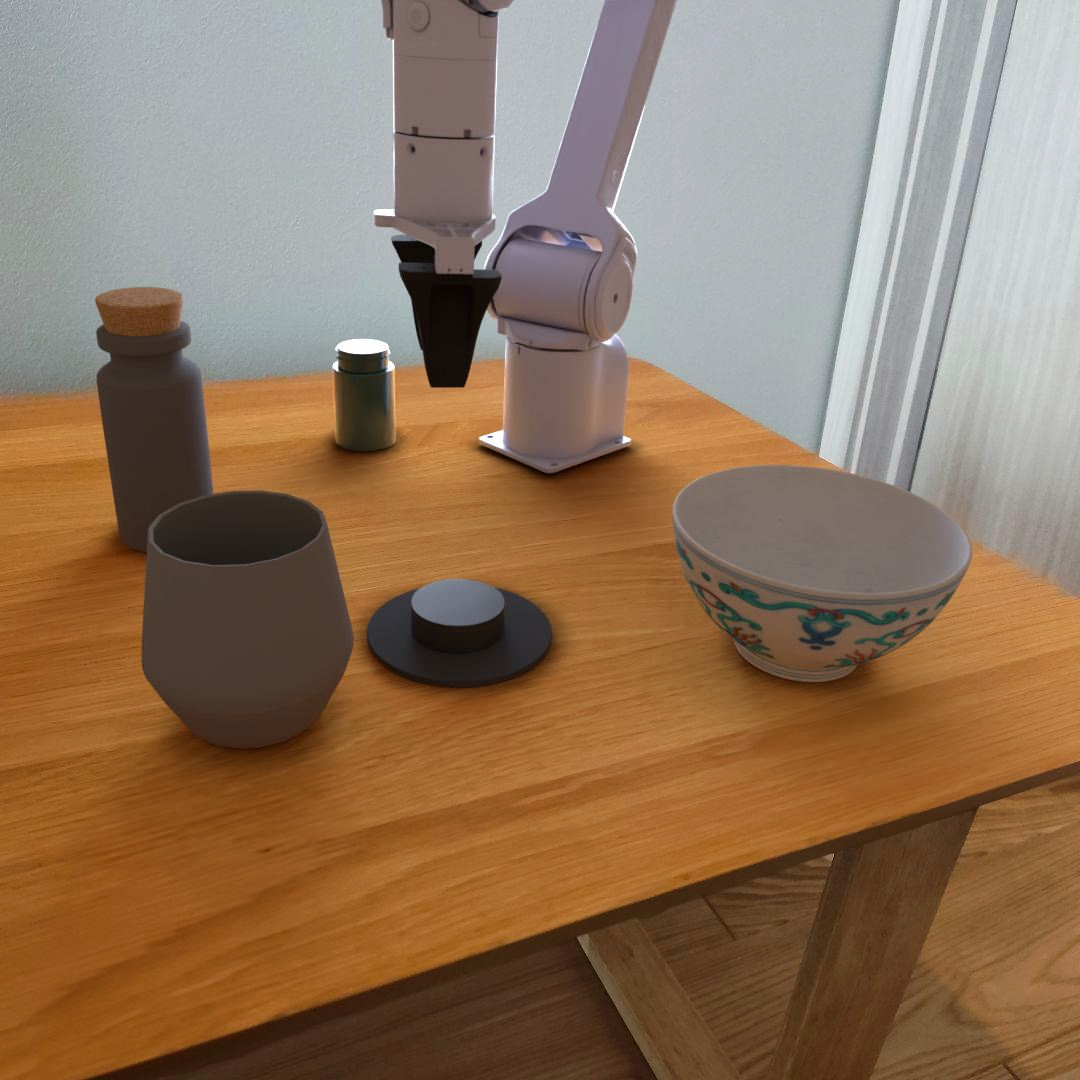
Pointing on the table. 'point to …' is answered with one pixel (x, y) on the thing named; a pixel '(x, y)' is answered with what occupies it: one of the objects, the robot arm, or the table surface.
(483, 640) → the cap
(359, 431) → the spice jar
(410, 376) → the table surface
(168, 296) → the bottle
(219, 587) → the cup
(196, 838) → the table surface
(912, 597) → the chinaware
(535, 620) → the coaster
